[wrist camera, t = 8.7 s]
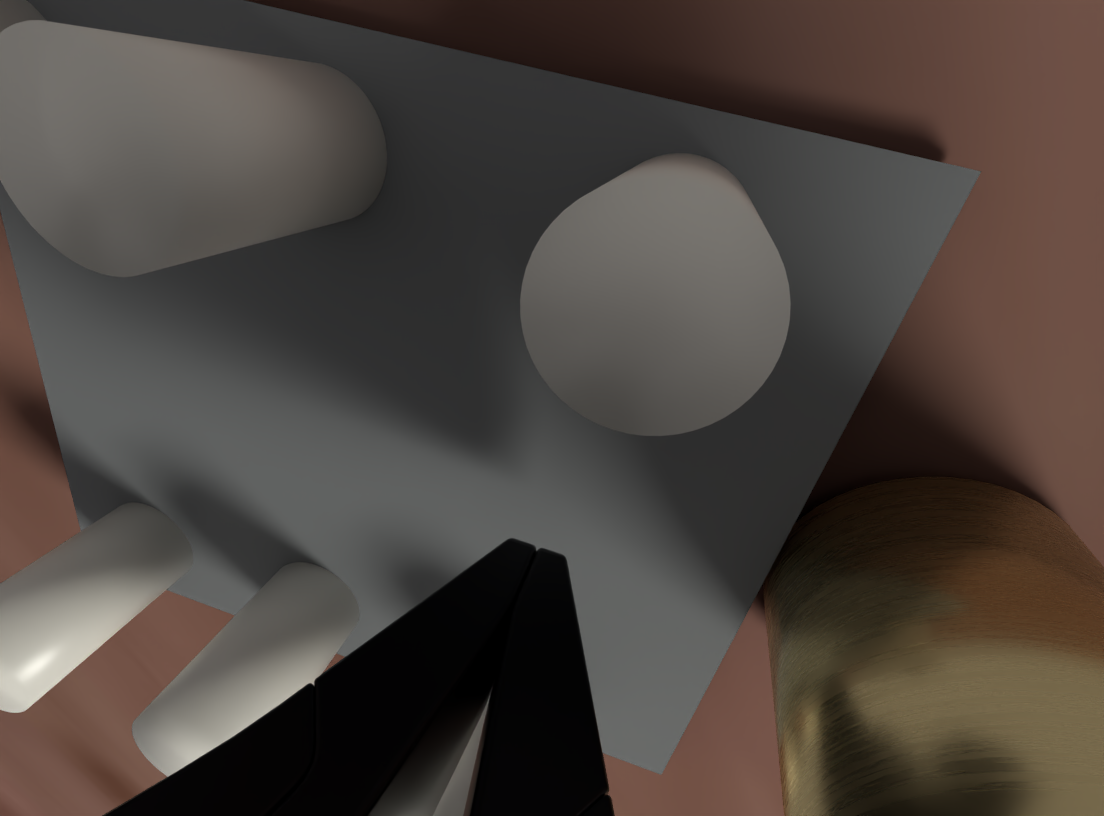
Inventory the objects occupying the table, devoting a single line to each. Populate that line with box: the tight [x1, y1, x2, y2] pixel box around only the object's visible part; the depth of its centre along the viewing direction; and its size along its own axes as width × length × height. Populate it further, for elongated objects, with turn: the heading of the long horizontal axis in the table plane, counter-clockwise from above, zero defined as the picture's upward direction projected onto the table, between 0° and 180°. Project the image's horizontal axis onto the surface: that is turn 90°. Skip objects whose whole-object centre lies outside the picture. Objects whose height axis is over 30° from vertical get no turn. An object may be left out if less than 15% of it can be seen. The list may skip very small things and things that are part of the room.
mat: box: [0, 0, 981, 774], centre depth 10 cm, size 12×14×1 cm
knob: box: [764, 477, 1104, 816], centre depth 7 cm, size 5×5×5 cm
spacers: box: [0, 0, 791, 816], centre depth 9 cm, size 11×12×4 cm
